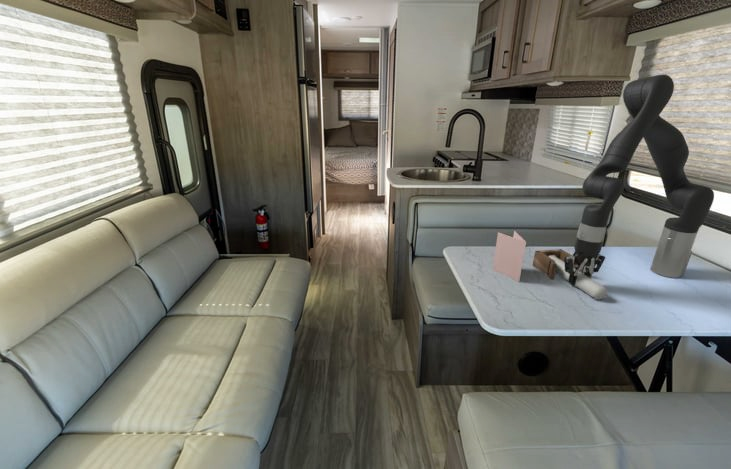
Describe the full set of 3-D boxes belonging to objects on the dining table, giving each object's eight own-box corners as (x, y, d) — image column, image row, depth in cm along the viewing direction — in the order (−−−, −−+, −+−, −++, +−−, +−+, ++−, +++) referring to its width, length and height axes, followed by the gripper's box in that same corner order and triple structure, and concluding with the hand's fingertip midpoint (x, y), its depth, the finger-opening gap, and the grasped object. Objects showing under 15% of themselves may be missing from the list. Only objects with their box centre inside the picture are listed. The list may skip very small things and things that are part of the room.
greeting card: (521, 282, 124) (529, 242, 119) (500, 281, 125) (506, 241, 119) (510, 267, 135) (516, 230, 130) (490, 267, 135) (496, 230, 130)
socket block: (560, 263, 139) (563, 248, 137) (583, 277, 128) (586, 262, 126) (530, 265, 137) (532, 251, 135) (550, 280, 126) (553, 264, 124)
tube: (614, 289, 112) (559, 256, 135) (601, 286, 110) (548, 253, 133) (605, 304, 113) (552, 269, 136) (592, 301, 112) (541, 266, 135)
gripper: (600, 231, 120) (588, 276, 126) (562, 234, 118) (552, 280, 124) (618, 240, 114) (605, 287, 120) (579, 242, 111) (567, 290, 117)
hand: (578, 283), depth 122 cm, fingers closed on tube, 4 cm apart
